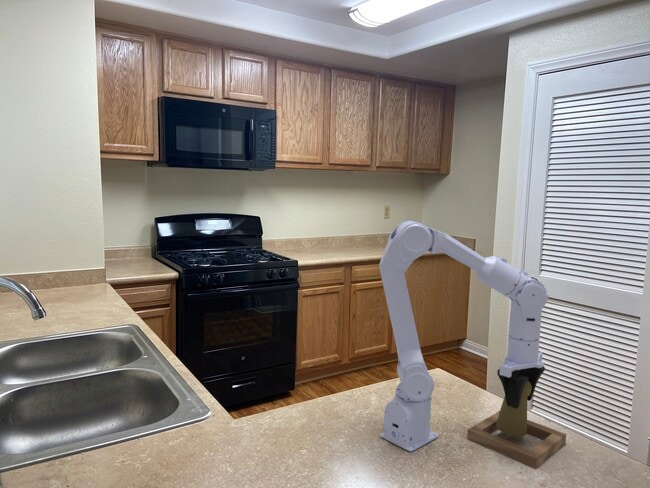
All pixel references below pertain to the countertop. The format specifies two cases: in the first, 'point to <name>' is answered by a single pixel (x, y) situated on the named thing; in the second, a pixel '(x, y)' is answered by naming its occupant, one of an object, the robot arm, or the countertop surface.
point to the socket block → (529, 457)
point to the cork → (515, 415)
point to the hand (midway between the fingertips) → (519, 402)
